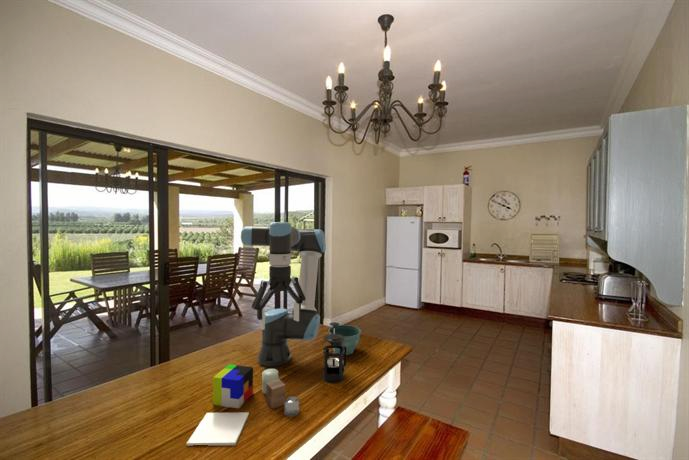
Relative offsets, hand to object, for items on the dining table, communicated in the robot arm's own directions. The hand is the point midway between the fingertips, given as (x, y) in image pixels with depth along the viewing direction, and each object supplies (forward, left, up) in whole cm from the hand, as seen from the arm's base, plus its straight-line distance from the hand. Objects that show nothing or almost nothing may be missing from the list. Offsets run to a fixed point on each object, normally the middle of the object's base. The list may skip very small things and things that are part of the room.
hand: (279, 324), depth 109 cm
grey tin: (+7, +1, -29) cm, 30 cm away
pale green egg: (-10, +1, -29) cm, 30 cm away
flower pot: (-20, +46, -29) cm, 58 cm away
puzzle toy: (-13, -12, -29) cm, 34 cm away
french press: (-3, +27, -29) cm, 40 cm away
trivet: (+1, -21, -29) cm, 36 cm away
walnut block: (-1, -1, -29) cm, 29 cm away
